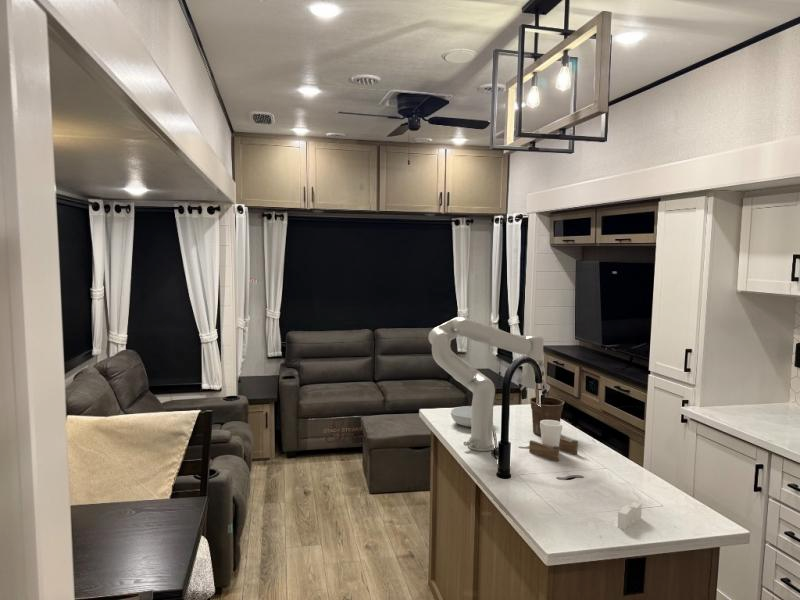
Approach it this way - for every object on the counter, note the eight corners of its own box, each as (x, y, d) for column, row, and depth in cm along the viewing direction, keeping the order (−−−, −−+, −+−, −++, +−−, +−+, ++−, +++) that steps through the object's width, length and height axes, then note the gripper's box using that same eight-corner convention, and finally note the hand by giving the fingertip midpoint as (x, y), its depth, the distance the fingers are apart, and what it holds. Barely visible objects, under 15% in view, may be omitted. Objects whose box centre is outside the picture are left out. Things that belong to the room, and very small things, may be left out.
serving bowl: (445, 420, 281) (445, 407, 280) (482, 417, 286) (482, 405, 285) (458, 432, 261) (458, 418, 260) (498, 429, 266) (498, 415, 265)
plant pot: (567, 439, 252) (568, 405, 251) (533, 438, 252) (534, 404, 251) (558, 428, 268) (559, 397, 267) (525, 428, 268) (526, 396, 267)
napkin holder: (620, 534, 162) (621, 516, 162) (600, 517, 174) (600, 500, 173) (664, 531, 165) (665, 513, 165) (641, 514, 176) (642, 497, 176)
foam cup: (536, 448, 238) (537, 420, 237) (556, 448, 239) (557, 419, 238) (544, 456, 228) (545, 426, 227) (565, 455, 229) (566, 425, 228)
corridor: (556, 461, 222) (556, 447, 222) (529, 452, 233) (529, 439, 233) (577, 453, 231) (578, 440, 231) (550, 445, 242) (550, 432, 242)
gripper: (555, 365, 235) (553, 404, 236) (523, 359, 248) (522, 396, 249) (544, 367, 230) (543, 406, 231) (513, 361, 244) (512, 398, 245)
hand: (532, 401), depth 240 cm, fingers open, 9 cm apart
